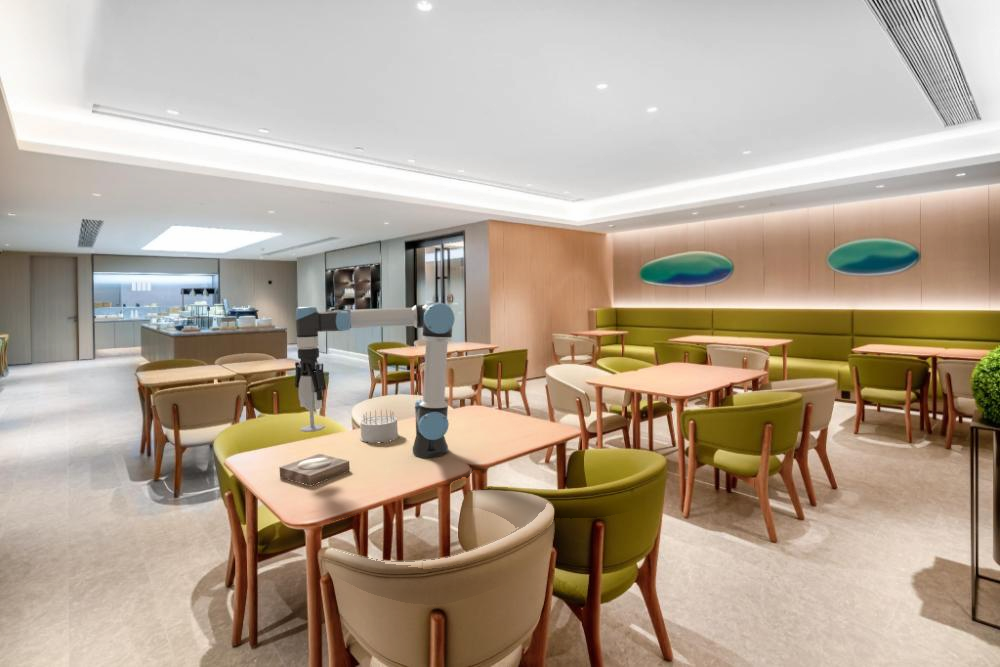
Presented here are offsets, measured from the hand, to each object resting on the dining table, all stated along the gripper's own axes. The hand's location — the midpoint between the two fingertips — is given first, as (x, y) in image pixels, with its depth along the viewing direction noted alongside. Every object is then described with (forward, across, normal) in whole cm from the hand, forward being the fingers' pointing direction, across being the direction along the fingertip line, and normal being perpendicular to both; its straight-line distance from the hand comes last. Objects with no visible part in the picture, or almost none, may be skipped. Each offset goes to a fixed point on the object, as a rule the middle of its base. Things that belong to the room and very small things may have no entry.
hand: (311, 407), depth 192 cm
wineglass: (+9, 0, 0) cm, 9 cm away
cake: (+27, +14, -47) cm, 56 cm away
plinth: (+26, 0, 0) cm, 26 cm away
